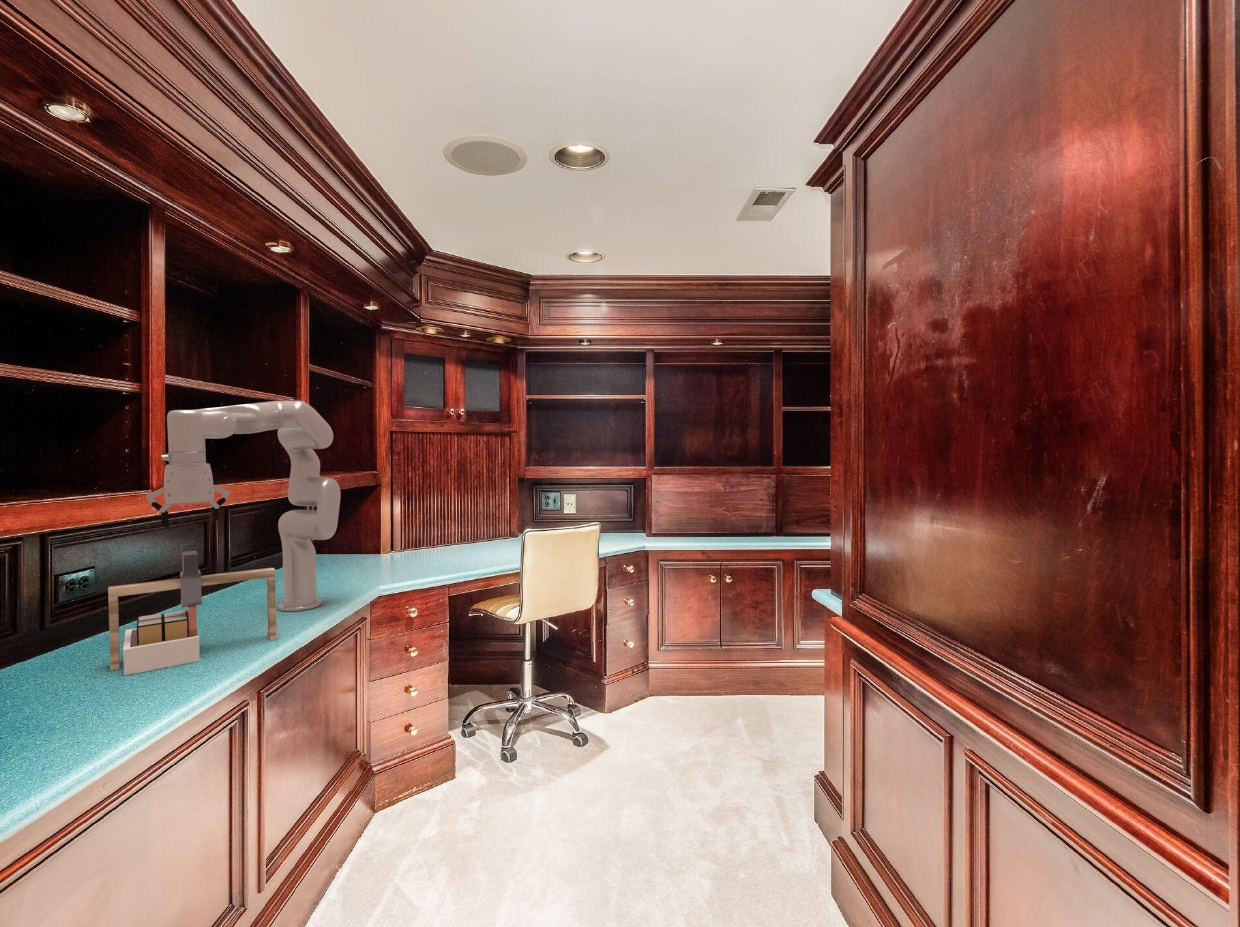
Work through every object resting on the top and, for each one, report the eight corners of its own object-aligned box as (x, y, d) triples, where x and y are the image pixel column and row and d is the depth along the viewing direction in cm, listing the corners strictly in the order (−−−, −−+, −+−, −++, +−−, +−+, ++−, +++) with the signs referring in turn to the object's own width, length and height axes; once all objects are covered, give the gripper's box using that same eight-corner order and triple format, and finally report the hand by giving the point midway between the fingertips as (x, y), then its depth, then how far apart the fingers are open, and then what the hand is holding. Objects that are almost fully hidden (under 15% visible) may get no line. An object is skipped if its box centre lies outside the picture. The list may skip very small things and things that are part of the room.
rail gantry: (111, 662, 143) (109, 585, 142) (273, 633, 164) (272, 566, 163) (110, 670, 138) (107, 590, 137) (277, 639, 159) (275, 570, 159)
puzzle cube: (138, 655, 147) (137, 616, 147) (187, 647, 154) (186, 609, 153) (137, 667, 140) (136, 626, 139) (189, 658, 146) (188, 618, 146)
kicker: (182, 642, 152) (179, 551, 152) (200, 639, 155) (198, 549, 154) (183, 652, 145) (180, 556, 144) (203, 648, 148) (200, 554, 147)
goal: (126, 653, 149) (125, 629, 149) (195, 641, 158) (194, 619, 158) (124, 675, 135) (123, 649, 135) (199, 661, 144) (199, 636, 143)
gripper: (143, 460, 140) (147, 531, 141) (230, 458, 151) (232, 523, 152) (143, 459, 146) (147, 527, 147) (226, 457, 157) (229, 520, 158)
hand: (190, 525), depth 150 cm, fingers open, 9 cm apart
